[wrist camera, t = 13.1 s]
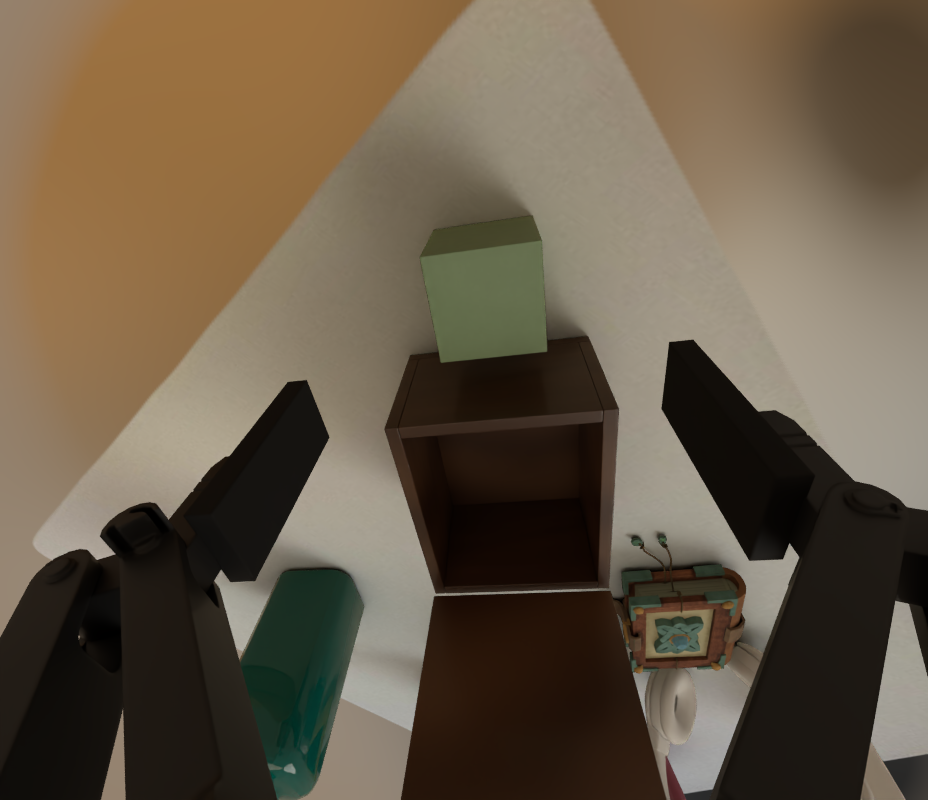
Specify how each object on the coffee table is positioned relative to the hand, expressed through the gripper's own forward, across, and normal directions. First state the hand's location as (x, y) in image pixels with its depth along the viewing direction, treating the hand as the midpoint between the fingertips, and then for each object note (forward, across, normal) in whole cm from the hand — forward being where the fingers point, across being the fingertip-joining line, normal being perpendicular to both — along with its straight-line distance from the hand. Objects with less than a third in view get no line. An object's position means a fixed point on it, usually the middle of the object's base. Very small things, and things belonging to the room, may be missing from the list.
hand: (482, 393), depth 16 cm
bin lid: (-3, 0, -19) cm, 20 cm away
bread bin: (+14, 0, -13) cm, 19 cm away
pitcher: (+15, -23, -33) cm, 43 cm away
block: (+14, 0, 0) cm, 14 cm away
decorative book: (+14, +14, -35) cm, 40 cm away
